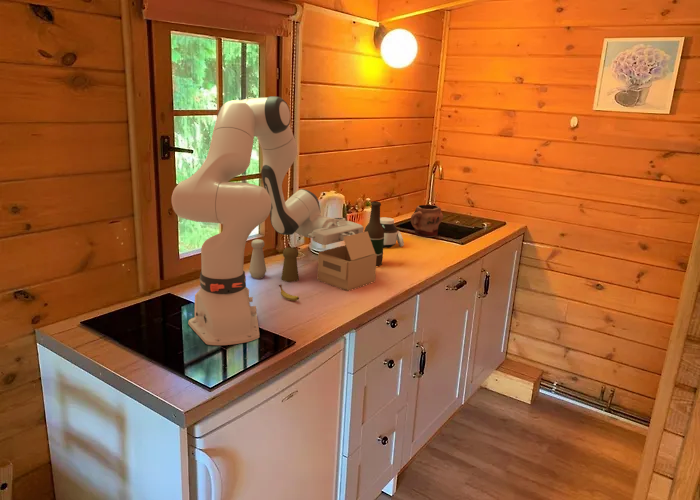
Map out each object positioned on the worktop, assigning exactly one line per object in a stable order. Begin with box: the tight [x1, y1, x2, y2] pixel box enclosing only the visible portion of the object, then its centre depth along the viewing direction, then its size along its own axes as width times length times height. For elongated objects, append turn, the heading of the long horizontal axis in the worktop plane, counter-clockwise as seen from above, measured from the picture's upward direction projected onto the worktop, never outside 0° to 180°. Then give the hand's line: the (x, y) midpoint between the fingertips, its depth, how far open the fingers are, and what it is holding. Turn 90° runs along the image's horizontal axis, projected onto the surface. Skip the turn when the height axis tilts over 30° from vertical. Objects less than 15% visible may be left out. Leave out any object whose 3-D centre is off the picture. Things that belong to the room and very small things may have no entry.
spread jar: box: [380, 216, 405, 249], centre depth 233 cm, size 12×11×12 cm
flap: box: [343, 231, 375, 261], centre depth 182 cm, size 8×12×1 cm
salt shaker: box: [248, 238, 267, 280], centre depth 187 cm, size 6×6×13 cm
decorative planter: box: [410, 204, 444, 238], centre depth 251 cm, size 20×12×14 cm, turn 137°
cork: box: [280, 246, 300, 283], centre depth 187 cm, size 6×6×11 cm
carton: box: [317, 245, 377, 292], centre depth 188 cm, size 15×15×10 cm
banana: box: [278, 284, 300, 302], centre depth 170 cm, size 8×2×4 cm, turn 54°
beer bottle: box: [363, 200, 384, 267], centre depth 206 cm, size 8×8×24 cm
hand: (356, 238), depth 183 cm, fingers closed, pressing on flap
